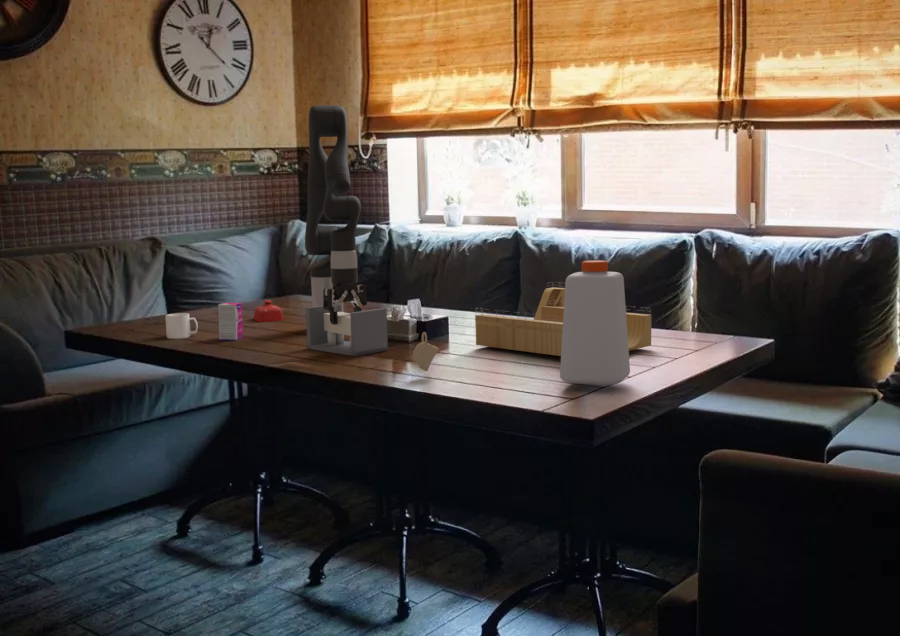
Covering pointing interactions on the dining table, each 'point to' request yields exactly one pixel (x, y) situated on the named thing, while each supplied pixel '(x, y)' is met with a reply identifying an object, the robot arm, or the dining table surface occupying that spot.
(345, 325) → the cream rectangular block
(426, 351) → the tan teacup
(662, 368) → the dining table surface
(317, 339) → the peg stand
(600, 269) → the plastic bottle
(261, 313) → the butter dish
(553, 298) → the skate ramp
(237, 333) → the supplement box
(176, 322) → the mug
